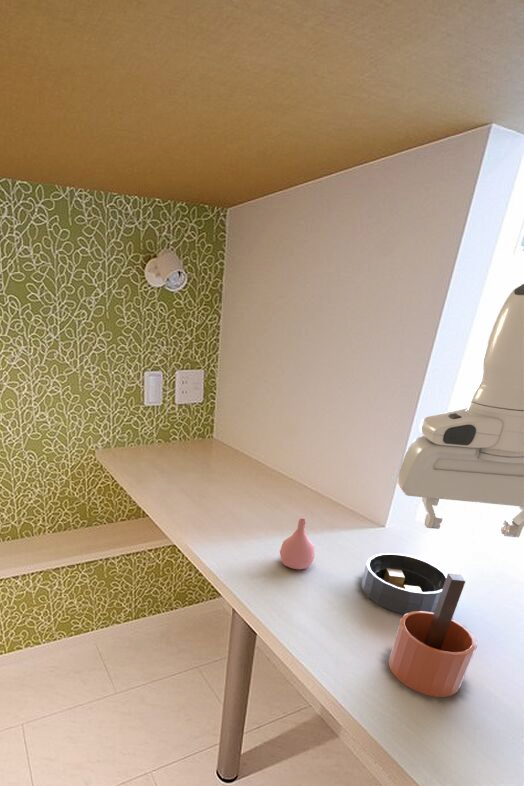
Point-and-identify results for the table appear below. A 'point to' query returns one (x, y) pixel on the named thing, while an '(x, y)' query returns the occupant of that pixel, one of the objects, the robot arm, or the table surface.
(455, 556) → the table surface
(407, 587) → the mustard block
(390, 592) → the bowl
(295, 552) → the pink teardrop shaped piece
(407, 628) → the holder
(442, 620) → the stirring stick
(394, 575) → the maple block
